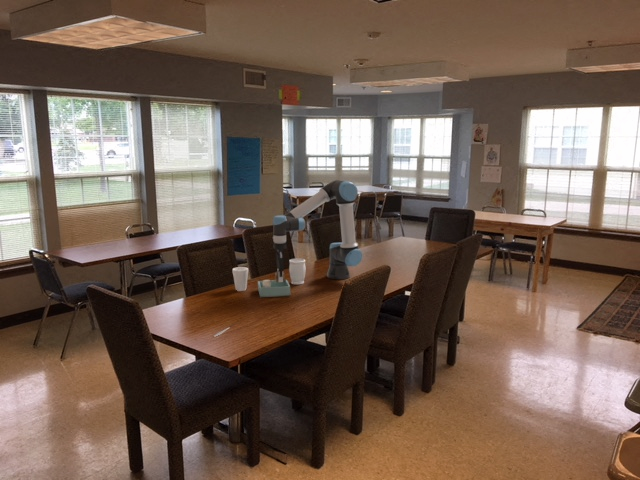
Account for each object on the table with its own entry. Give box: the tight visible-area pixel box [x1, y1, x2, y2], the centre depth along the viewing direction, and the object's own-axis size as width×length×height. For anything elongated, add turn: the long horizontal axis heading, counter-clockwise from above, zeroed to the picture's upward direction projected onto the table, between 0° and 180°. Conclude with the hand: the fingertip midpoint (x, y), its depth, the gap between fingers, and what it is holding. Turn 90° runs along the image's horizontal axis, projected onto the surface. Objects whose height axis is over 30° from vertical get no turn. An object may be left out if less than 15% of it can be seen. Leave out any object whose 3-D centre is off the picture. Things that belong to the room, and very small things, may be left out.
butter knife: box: [213, 327, 231, 338], centre depth 246 cm, size 1×27×3 cm
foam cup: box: [232, 266, 249, 292], centre depth 308 cm, size 10×9×13 cm
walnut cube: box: [274, 271, 286, 282], centre depth 302 cm, size 5×5×5 cm
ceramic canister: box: [262, 279, 271, 288], centre depth 301 cm, size 5×5×7 cm
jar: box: [288, 258, 307, 285], centre depth 322 cm, size 11×10×15 cm
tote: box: [257, 279, 291, 298], centre depth 302 cm, size 18×16×6 cm
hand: (280, 280), depth 302 cm, fingers closed on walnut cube, 5 cm apart
